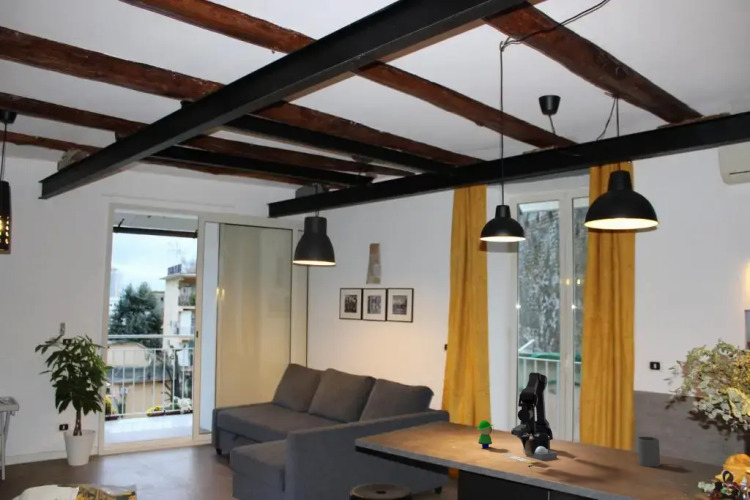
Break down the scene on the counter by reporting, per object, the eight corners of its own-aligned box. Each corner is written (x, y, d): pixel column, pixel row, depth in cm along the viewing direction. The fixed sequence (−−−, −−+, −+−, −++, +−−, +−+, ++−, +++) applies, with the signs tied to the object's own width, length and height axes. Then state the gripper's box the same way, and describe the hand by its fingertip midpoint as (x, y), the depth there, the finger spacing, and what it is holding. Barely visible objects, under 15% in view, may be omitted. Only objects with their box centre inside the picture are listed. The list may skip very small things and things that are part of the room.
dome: (541, 456, 304) (541, 444, 305) (550, 458, 299) (550, 446, 300) (532, 457, 301) (532, 445, 302) (541, 459, 296) (541, 448, 297)
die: (527, 452, 313) (527, 443, 313) (534, 453, 310) (534, 445, 310) (523, 453, 310) (523, 445, 310) (530, 454, 307) (530, 446, 307)
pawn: (530, 453, 294) (529, 438, 295) (535, 455, 291) (535, 439, 291) (523, 454, 292) (523, 439, 293) (529, 456, 289) (528, 440, 290)
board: (527, 452, 316) (527, 450, 316) (560, 461, 297) (560, 458, 297) (497, 457, 306) (497, 454, 306) (529, 466, 287) (529, 463, 287)
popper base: (541, 454, 307) (541, 448, 308) (556, 458, 299) (556, 452, 299) (526, 457, 302) (526, 450, 302) (541, 461, 294) (541, 454, 294)
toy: (493, 452, 317) (493, 422, 319) (476, 451, 319) (476, 421, 321) (494, 448, 326) (493, 419, 328) (477, 447, 328) (476, 418, 329)
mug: (654, 468, 284) (652, 441, 286) (635, 464, 291) (633, 438, 293) (668, 463, 293) (667, 437, 294) (649, 460, 300) (648, 434, 301)
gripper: (502, 417, 297) (502, 451, 296) (530, 423, 281) (531, 458, 280) (519, 415, 303) (520, 448, 301) (548, 420, 287) (549, 455, 285)
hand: (529, 452), depth 292 cm, fingers closed on pawn, 4 cm apart
